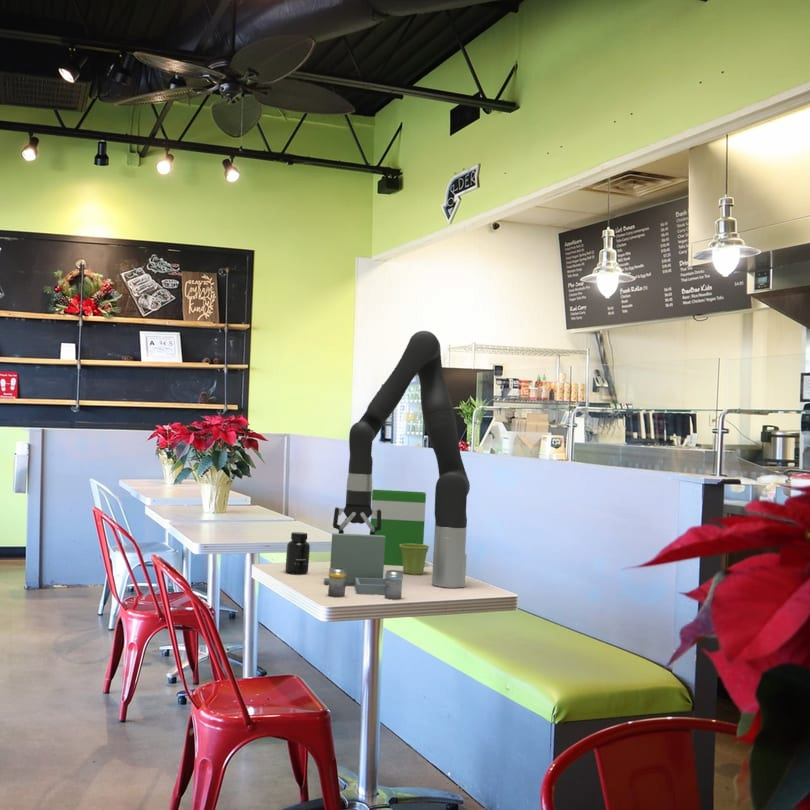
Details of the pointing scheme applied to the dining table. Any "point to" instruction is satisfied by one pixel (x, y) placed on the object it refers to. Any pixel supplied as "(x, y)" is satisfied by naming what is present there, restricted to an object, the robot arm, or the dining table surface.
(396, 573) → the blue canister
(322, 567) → the dining table surface
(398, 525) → the hardback book
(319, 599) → the dining table surface
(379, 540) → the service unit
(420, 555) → the plant pot
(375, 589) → the tray
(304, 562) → the supplement bottle
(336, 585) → the grey gold-banded metal jar
